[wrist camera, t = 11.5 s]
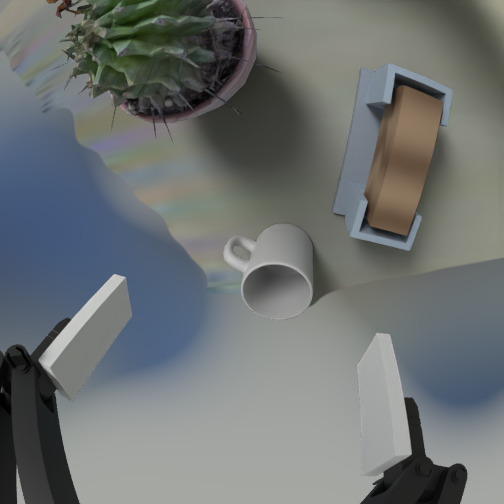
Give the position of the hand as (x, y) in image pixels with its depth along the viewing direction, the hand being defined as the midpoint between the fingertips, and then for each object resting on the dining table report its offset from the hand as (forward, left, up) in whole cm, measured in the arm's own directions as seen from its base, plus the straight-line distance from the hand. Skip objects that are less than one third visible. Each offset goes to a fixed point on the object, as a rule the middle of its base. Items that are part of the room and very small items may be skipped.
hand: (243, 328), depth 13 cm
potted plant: (-15, -11, -27) cm, 33 cm away
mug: (+9, 0, -27) cm, 28 cm away
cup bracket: (-8, +12, -27) cm, 30 cm away
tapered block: (-8, +12, -23) cm, 27 cm away
